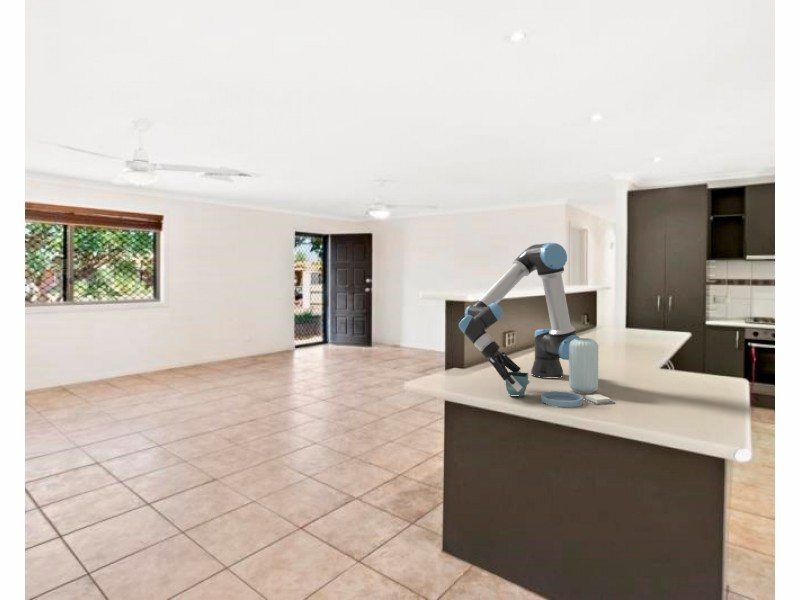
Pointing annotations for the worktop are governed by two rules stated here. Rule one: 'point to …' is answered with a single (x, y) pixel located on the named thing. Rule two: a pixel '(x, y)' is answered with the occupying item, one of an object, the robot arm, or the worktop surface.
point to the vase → (583, 365)
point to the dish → (562, 399)
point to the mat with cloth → (598, 399)
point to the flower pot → (521, 379)
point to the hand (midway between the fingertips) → (524, 386)
